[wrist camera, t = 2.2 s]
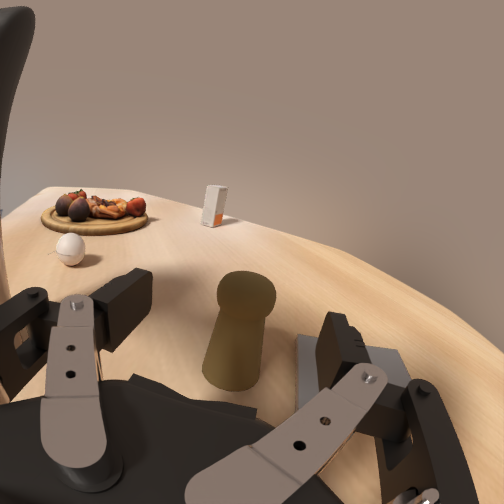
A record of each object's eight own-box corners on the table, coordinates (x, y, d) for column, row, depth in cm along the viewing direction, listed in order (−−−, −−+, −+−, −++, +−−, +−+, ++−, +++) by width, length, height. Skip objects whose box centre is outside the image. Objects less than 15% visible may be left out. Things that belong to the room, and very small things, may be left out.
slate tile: (295, 415, 22) (298, 408, 22) (295, 339, 35) (297, 333, 34) (422, 420, 21) (427, 415, 21) (394, 355, 34) (397, 349, 33)
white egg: (80, 256, 44) (79, 227, 42) (90, 267, 41) (89, 236, 39) (44, 262, 38) (42, 232, 36) (50, 275, 35) (48, 242, 33)
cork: (227, 346, 31) (244, 259, 28) (270, 372, 28) (297, 282, 24) (189, 367, 26) (200, 270, 23) (234, 400, 23) (258, 302, 20)
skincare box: (212, 228, 80) (219, 187, 76) (200, 224, 81) (206, 184, 77) (221, 225, 85) (228, 187, 82) (210, 221, 87) (216, 184, 83)
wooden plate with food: (160, 216, 84) (163, 190, 81) (120, 246, 54) (122, 208, 51) (78, 204, 81) (80, 180, 78) (19, 226, 51) (19, 194, 48)
